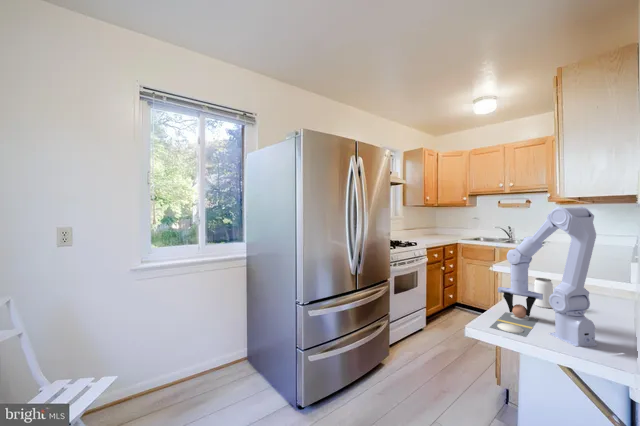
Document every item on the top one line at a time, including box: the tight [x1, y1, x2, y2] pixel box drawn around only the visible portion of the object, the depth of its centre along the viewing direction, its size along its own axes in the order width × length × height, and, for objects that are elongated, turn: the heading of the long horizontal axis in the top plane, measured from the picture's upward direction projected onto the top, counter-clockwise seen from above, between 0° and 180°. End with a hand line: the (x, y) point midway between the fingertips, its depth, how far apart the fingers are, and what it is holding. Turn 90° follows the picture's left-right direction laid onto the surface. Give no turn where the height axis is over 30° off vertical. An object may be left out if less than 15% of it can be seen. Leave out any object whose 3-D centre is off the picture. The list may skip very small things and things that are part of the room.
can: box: [533, 277, 554, 309], centre depth 125 cm, size 6×6×12 cm
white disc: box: [497, 323, 524, 334], centre depth 101 cm, size 8×8×1 cm
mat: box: [489, 311, 539, 338], centre depth 106 cm, size 22×11×1 cm, turn 133°
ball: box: [512, 303, 527, 318], centre depth 111 cm, size 5×5×5 cm
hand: (519, 313), depth 111 cm, fingers closed on ball, 5 cm apart
